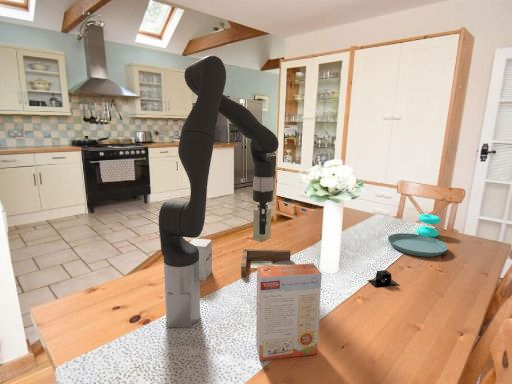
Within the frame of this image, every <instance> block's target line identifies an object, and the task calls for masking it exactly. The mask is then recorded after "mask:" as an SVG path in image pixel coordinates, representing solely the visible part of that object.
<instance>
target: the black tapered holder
mask: <svg viewBox="0 0 512 384" xmlns="http://www.w3.org/2000/svg"><path fill="white" fill-rule="evenodd" d="M392 277H393V276H392V273H391V272H390V271H388V270H387V269H383V270H382V269H381V270H377V271H376V273H375V279H367V282H368V283H369V284H370V285H372V286H373V287H374V288H375V289H376V288H377V289H381V288H391V287H400V286H401V284H399V283H397V282H396V281H395V280H394V279H392Z"/></svg>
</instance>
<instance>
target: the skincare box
mask: <svg viewBox="0 0 512 384" xmlns="http://www.w3.org/2000/svg"><path fill="white" fill-rule="evenodd" d="M258 211H259V210H257V207H256V208H254V209H253V221H252V223H253V226H252V230H253V231H252V240H253V241H255V242H260V243H264V242H266V241H268V240H269V239H271V238H272V237H271V234H272V232H271V231H272V207H268V211H267V219H266V222H267V224H266V227H265V234H264V235H263V234H259V219H258ZM259 215H260V211H259ZM262 215H264V214H262ZM261 221H265V219H263V218H261Z"/></svg>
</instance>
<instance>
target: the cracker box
mask: <svg viewBox="0 0 512 384" xmlns="http://www.w3.org/2000/svg"><path fill="white" fill-rule="evenodd" d="M321 287H322V272H321V271H320V270H319V269H318V267H317V266H316V265H315V264H314V263H301V264H300V263H299V264H297V263H296V264H284V265H281V264H280V265H272V266H261V267H257V269H256V310H255V311H256V312H255V313H256V318H255V321H256V322H255V323H256V324H255V325H256V326H255V327H256V329H255V330H256V332H255V337H256V338H255V341H256V343H255V344H256V350H257V354H258V359H259V361H267V360H275V359H287V358H294V357H296V358H297V357H304V356H305V357H306V356H312V355H317V354H318V343H319V342H318V341H319V325H320V307H321V293H322V292H321V289H322V288H321Z"/></svg>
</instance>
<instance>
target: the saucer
mask: <svg viewBox="0 0 512 384" xmlns="http://www.w3.org/2000/svg"><path fill="white" fill-rule="evenodd" d="M387 240H388V242H389V244H390V245H391V246H392V247H393V248H394V249H395V250H397V251H399V252H402V253H404V254H408V255H412V256H416V257H424V258H425V257H426V258H427V257H430V258H431V257H437V256H440V255H443V254H445V253H446V251H447V250H448V245H447V244H446V243H444V242H443V241H441V240H439V239H437V238H435V237H427V236H423V235H420V234H418V233H409V232H407V233H399V232H398V233H393V234H390V235H389V236H388V237H387Z"/></svg>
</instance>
